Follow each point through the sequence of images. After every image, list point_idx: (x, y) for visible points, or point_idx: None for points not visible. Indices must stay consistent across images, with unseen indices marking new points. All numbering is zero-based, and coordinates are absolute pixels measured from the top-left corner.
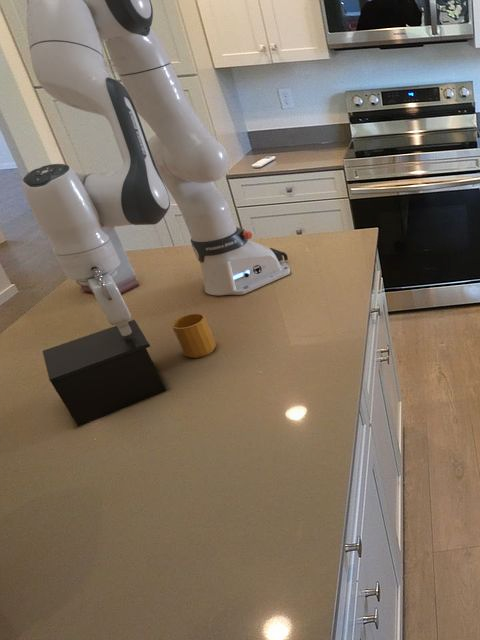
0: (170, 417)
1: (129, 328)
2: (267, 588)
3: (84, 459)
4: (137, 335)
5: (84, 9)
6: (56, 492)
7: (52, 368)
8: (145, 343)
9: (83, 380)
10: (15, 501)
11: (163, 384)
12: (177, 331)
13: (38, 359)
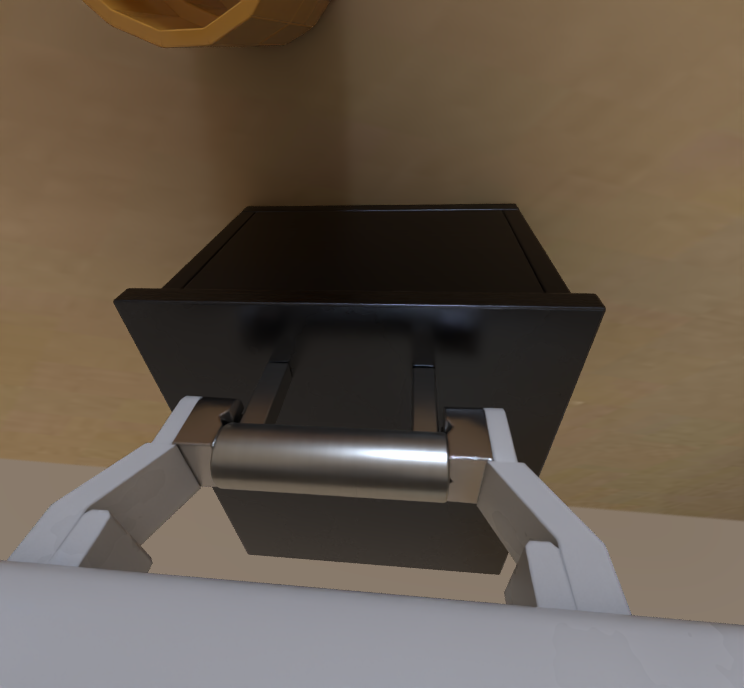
0: (723, 235)
1: (509, 439)
2: None
3: (640, 428)
4: (401, 335)
5: None
6: (697, 471)
7: (424, 562)
8: (585, 324)
9: None
10: (635, 506)
11: (521, 214)
12: (251, 24)
13: (49, 427)
